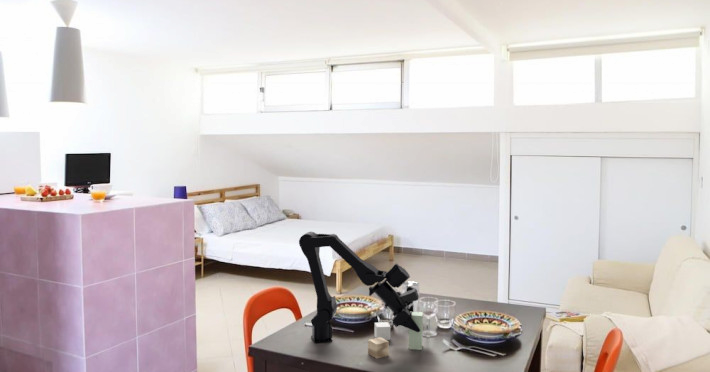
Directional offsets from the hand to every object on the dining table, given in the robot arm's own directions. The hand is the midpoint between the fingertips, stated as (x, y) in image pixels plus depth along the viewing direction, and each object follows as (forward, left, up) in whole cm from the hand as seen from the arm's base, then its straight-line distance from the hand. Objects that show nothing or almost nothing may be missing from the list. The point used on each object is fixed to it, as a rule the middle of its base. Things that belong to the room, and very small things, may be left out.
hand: (419, 329), depth 194 cm
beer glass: (+9, +29, -7) cm, 31 cm away
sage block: (-1, +1, -7) cm, 7 cm away
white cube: (-9, +13, -7) cm, 17 cm away
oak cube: (-16, -2, -7) cm, 18 cm away
